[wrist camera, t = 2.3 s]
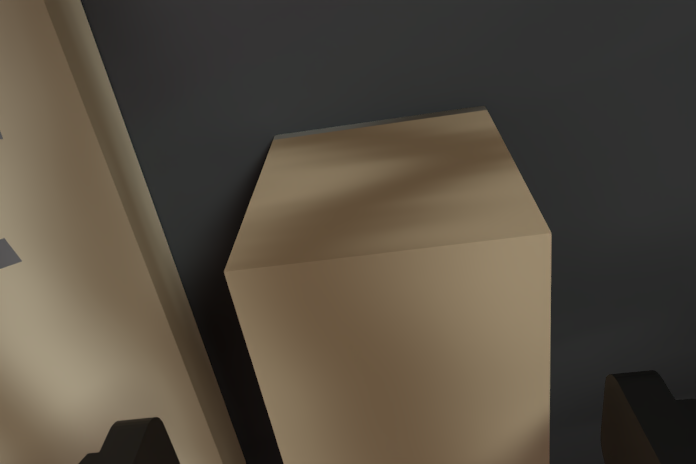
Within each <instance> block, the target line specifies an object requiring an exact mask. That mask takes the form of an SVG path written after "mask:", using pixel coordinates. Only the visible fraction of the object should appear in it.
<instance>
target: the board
mask: <svg viewBox="0 0 696 464" xmlns="http://www.w3.org/2000/svg"><path fill="white" fill-rule="evenodd" d="M151 417H158V418H160V419H161V420H162V422H163V424H164V426H165V428H166V431H167V433H168V435H169V438H170V440H171V443H172V445H173V447H174V450H175V452H176V455H177V457H178V459H179V462H180V464H246V461H245V458H244V455H243V453H242V450H241V447H240V444H239V441H238V439H237V436H236V433H235V430H234V428H233V425H232V422H231V419H230V416H229V414H228V411H227V408H226V405H225V402H224V400H223V397H222V394H221V391H220V388H219V386H218V383H217V380H216V377H215V375H214V372H213V369H212V366H211V363H210V361H209V358H208V355H207V352H206V349H205V347H204V344H203V341H202V338H201V335H200V333H199V330H198V327H197V324H196V322H195V319H194V316H193V313H192V310H191V308H190V305H189V302H188V299H187V296H186V294H185V291H184V288H183V285H182V282H181V280H180V277H179V274H178V271H177V269H176V266H175V263H174V260H173V257H172V255H171V252H170V249H169V246H168V243H167V241H166V238H165V235H164V232H163V229H162V227H161V224H160V221H159V218H158V216H157V213H156V210H155V207H154V204H153V202H152V199H151V196H150V193H149V190H148V188H147V185H146V182H145V179H144V176H143V174H142V171H141V168H140V165H139V163H138V160H137V157H136V154H135V151H134V149H133V146H132V143H131V140H130V137H129V135H128V132H127V129H126V126H125V123H124V121H123V118H122V115H121V112H120V110H119V107H118V104H117V101H116V98H115V96H114V93H113V90H112V87H111V84H110V82H109V79H108V76H107V73H106V70H105V68H104V65H103V62H102V59H101V57H100V54H99V51H98V48H97V45H96V43H95V40H94V37H93V34H92V31H91V29H90V26H89V23H88V20H87V17H86V15H85V12H84V9H83V6H82V4H81V1H80V0H0V464H78V463H79V462H80V461H81V460H82V459H83V458H84V457H85V456H86V455H87V454H88V453H97V452H100V450H101V447H102V445H103V443H104V441H105V439H106V436H107V434H108V432H109V430H110V428H111V426H112V425H113V424H114V423H115V422H116V421H120V420H131V419H141V418H151Z"/></svg>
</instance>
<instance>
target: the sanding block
mask: <svg viewBox="0 0 696 464" xmlns="http://www.w3.org/2000/svg"><path fill="white" fill-rule="evenodd" d="M224 274H225V278H226V281H227V284H228V287H229V290H230V294H231V297H232V300H233V303H234V306H235V310H236V313H237V316H238V319H239V322H240V325H241V329H242V332H243V335H244V338H245V341H246V345H247V348H248V351H249V354H250V357H251V361H252V364H253V367H254V370H255V373H256V377H257V380H258V383H259V386H260V389H261V393H262V396H263V399H264V402H265V405H266V409H267V412H268V415H269V418H270V421H271V425H272V428H273V431H274V434H275V437H276V440H277V444H278V447H279V450H280V453H281V456H282V460H283V463H284V464H549V435H550V326H551V231H550V229H549V228H548V226H547V224H546V222H545V220H544V218H543V216H542V214H541V212H540V210H539V208H538V207H537V205H536V203H535V201H534V199H533V197H532V195H531V193H530V191H529V189H528V187H527V186H526V184H525V182H524V180H523V178H522V176H521V174H520V172H519V170H518V168H517V166H516V164H515V163H514V161H513V159H512V157H511V155H510V153H509V151H508V149H507V147H506V145H505V143H504V142H503V140H502V138H501V136H500V134H499V132H498V130H497V128H496V126H495V124H494V122H493V121H492V119H491V117H490V115H489V113H488V111H487V109H486V107H485V106H479V107H471V108H464V109H457V110H450V111H443V112H436V113H429V114H422V115H415V116H408V117H401V118H394V119H387V120H380V121H373V122H366V123H359V124H352V125H344V126H337V127H330V128H323V129H316V130H309V131H302V132H295V133H288V134H281V135H275V136H274V139H273V142H272V144H271V147H270V150H269V152H268V155H267V158H266V160H265V163H264V166H263V168H262V171H261V174H260V176H259V179H258V182H257V184H256V187H255V190H254V192H253V195H252V198H251V200H250V203H249V206H248V208H247V211H246V214H245V216H244V219H243V222H242V224H241V227H240V230H239V232H238V235H237V238H236V240H235V243H234V246H233V249H232V251H231V254H230V257H229V259H228V262H227V265H226V267H225V270H224Z"/></svg>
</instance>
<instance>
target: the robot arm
mask: <svg viewBox="0 0 696 464" xmlns="http://www.w3.org/2000/svg"><path fill="white" fill-rule="evenodd" d="M601 446H602V452H603V457H604V461H605V464H696V400H695V399H686V400H675V399H674V397H673V396H672V394H671V392H670V391H669V389H668V388H667V386H666V384H665V383H664V381H663V379H662V378H661V377H660V375H659V374H658V373H657V372H656V371H653V370H651V371H641V372H631V373H620V374H610V375H608V376H607V377H606V381H605V391H604V402H603V414H602V425H601ZM78 464H180V462H179V459H178V457H177V455H176V452H175V450H174V447H173V445H172V443H171V440H170V438H169V435H168V433H167V431H166V428H165V426H164V424H163V422H162V420H161V419H160V418H158V417H151V418H141V419H131V420H120V421H116V422H115V423H114V424H113V425H112V426H111V428H110V430H109V432H108V434H107V436H106V439H105V441H104V443H103V445H102V447H101V450H100V452H97V453H88V454H87V455H86V456H85V457H84V458H83V459H82V460H81V461H80V462H79V463H78Z"/></svg>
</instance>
